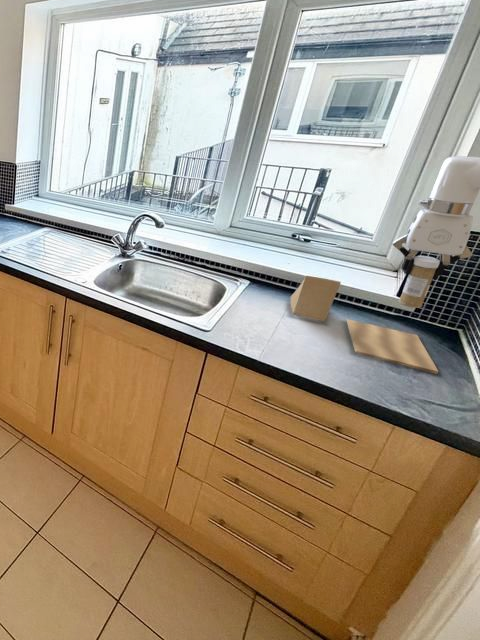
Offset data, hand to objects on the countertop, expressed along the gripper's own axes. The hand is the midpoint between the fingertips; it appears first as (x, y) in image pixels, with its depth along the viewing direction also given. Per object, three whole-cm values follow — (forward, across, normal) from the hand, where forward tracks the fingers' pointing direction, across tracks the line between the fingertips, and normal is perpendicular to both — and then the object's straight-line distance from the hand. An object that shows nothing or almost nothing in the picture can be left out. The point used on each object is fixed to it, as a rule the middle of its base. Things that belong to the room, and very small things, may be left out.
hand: (419, 274), depth 110 cm
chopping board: (+23, 0, +1) cm, 23 cm away
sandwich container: (+23, -18, +14) cm, 32 cm away
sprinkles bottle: (+9, 0, 0) cm, 9 cm away
